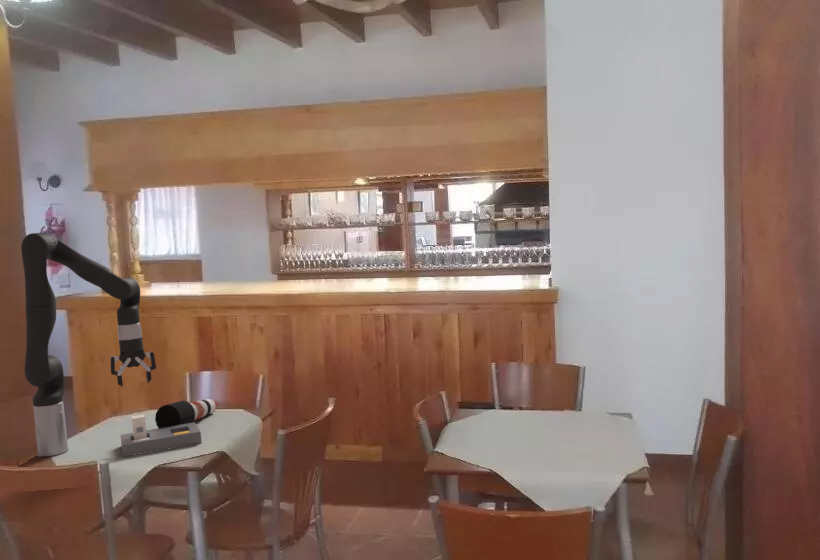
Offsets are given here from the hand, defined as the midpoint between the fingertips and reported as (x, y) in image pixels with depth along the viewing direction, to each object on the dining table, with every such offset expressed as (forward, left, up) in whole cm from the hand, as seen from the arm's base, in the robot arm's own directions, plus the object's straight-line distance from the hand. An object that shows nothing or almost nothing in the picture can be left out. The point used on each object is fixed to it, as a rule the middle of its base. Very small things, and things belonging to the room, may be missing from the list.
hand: (135, 384), depth 249 cm
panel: (+6, 0, -22) cm, 23 cm away
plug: (0, 0, -22) cm, 22 cm away
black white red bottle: (+20, +24, -22) cm, 39 cm away
